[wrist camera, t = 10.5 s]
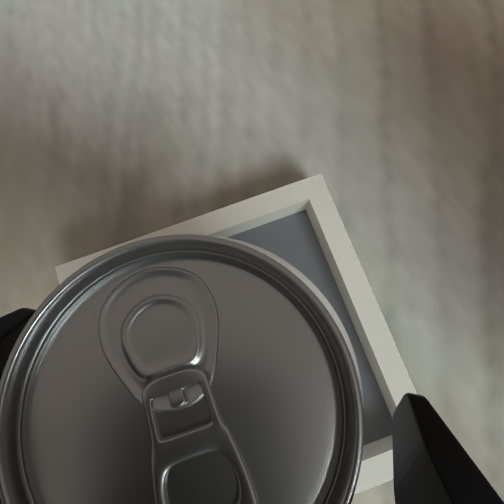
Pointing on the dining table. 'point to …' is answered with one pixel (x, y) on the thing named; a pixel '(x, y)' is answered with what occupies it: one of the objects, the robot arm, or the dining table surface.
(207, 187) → the dining table surface
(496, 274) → the dining table surface
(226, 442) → the can
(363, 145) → the dining table surface
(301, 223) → the square tray
